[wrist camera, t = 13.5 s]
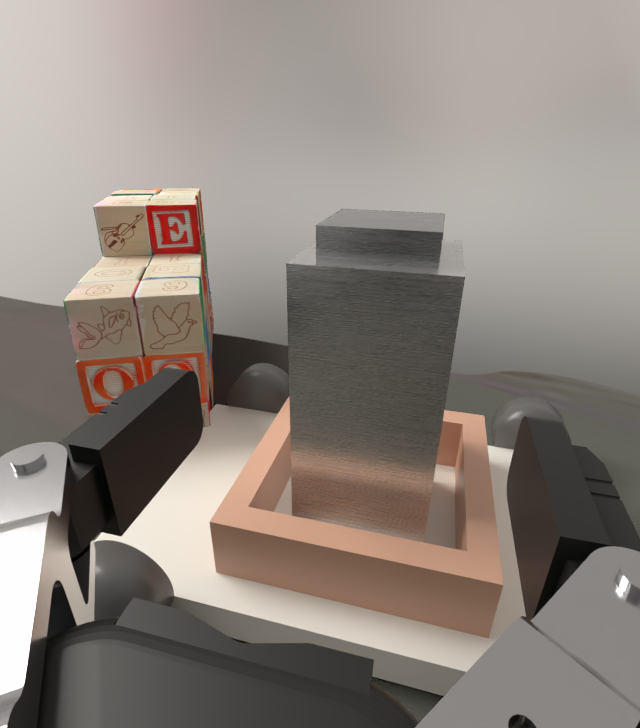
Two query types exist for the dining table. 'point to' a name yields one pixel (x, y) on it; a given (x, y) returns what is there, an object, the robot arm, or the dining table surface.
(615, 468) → the dining table surface
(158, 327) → the stack of blocks
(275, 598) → the chassis
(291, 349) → the grey tall block
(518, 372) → the dining table surface
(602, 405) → the dining table surface
